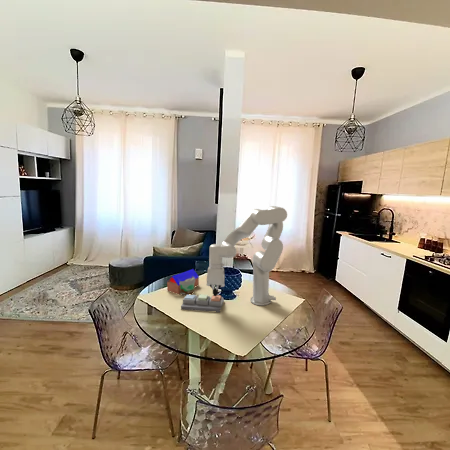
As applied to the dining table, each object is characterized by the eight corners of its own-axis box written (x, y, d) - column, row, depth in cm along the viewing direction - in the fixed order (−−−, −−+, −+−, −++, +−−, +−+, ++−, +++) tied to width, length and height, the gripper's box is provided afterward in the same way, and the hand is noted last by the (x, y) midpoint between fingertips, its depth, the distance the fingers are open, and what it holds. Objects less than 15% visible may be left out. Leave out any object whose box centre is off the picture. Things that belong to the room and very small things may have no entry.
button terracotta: (221, 299, 153) (221, 295, 153) (219, 303, 148) (219, 299, 148) (212, 298, 154) (212, 295, 154) (211, 302, 149) (211, 298, 149)
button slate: (195, 298, 156) (195, 295, 155) (193, 302, 151) (193, 298, 151) (187, 298, 157) (187, 294, 156) (185, 301, 152) (184, 298, 151)
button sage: (208, 298, 154) (208, 294, 154) (206, 302, 149) (206, 298, 149) (200, 298, 155) (200, 294, 155) (198, 301, 150) (197, 297, 150)
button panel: (223, 301, 158) (223, 294, 157) (219, 312, 144) (219, 304, 144) (188, 299, 161) (188, 292, 161) (181, 309, 148) (180, 302, 147)
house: (166, 290, 175) (166, 274, 173) (187, 282, 191) (187, 267, 189) (178, 295, 168) (178, 278, 166) (199, 285, 184) (199, 270, 182)
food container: (186, 298, 163) (185, 283, 161) (179, 295, 167) (179, 281, 165) (199, 291, 173) (199, 277, 171) (192, 289, 176) (192, 275, 175)
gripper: (229, 264, 150) (228, 293, 153) (204, 262, 153) (204, 291, 155) (227, 268, 143) (226, 299, 146) (201, 266, 145) (201, 297, 148)
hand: (215, 295), depth 150 cm, fingers closed
